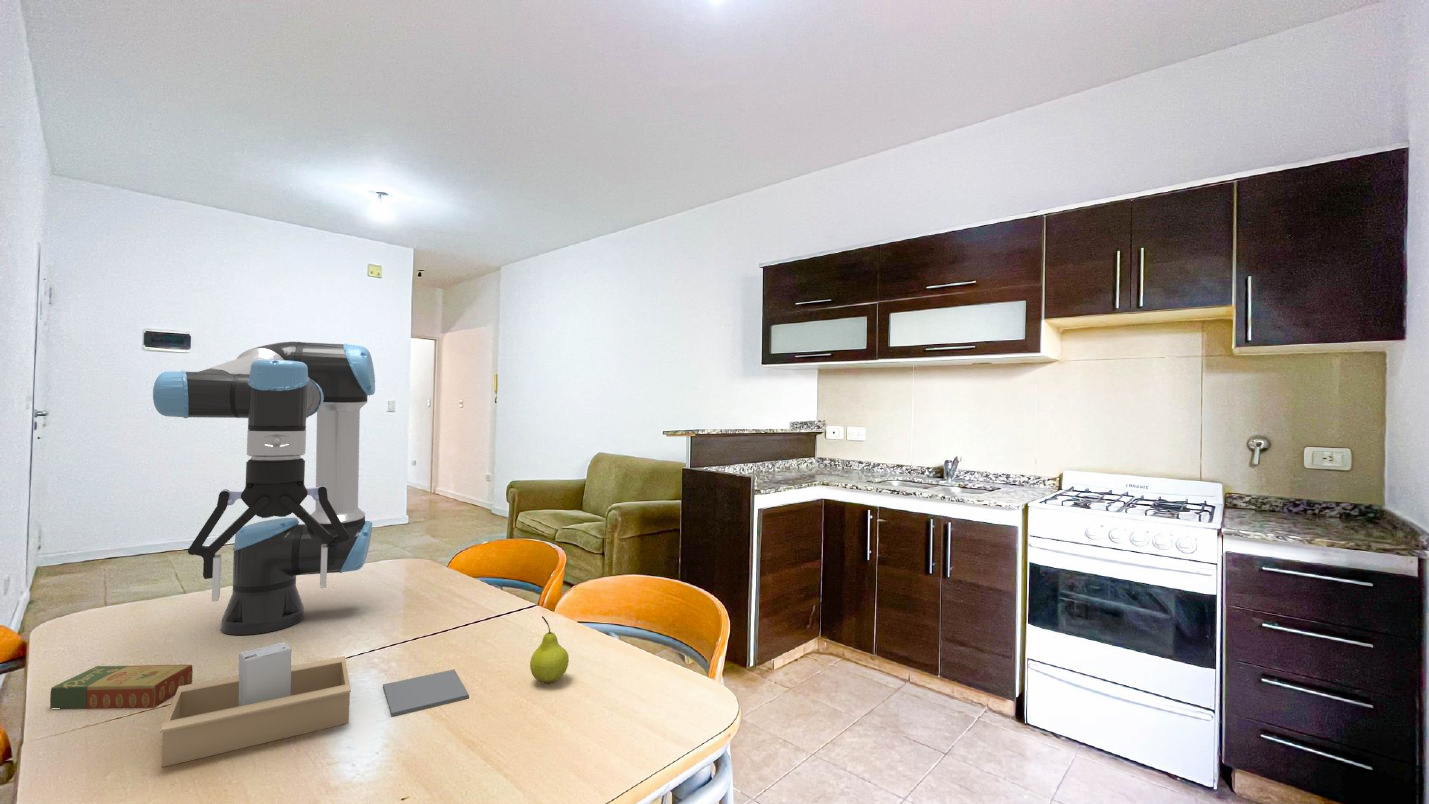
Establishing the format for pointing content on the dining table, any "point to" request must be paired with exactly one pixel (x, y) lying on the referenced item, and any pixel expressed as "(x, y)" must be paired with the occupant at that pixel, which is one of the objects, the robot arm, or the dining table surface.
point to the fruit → (549, 659)
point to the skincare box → (264, 674)
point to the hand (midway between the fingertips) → (271, 592)
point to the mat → (424, 692)
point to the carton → (121, 687)
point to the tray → (253, 712)
